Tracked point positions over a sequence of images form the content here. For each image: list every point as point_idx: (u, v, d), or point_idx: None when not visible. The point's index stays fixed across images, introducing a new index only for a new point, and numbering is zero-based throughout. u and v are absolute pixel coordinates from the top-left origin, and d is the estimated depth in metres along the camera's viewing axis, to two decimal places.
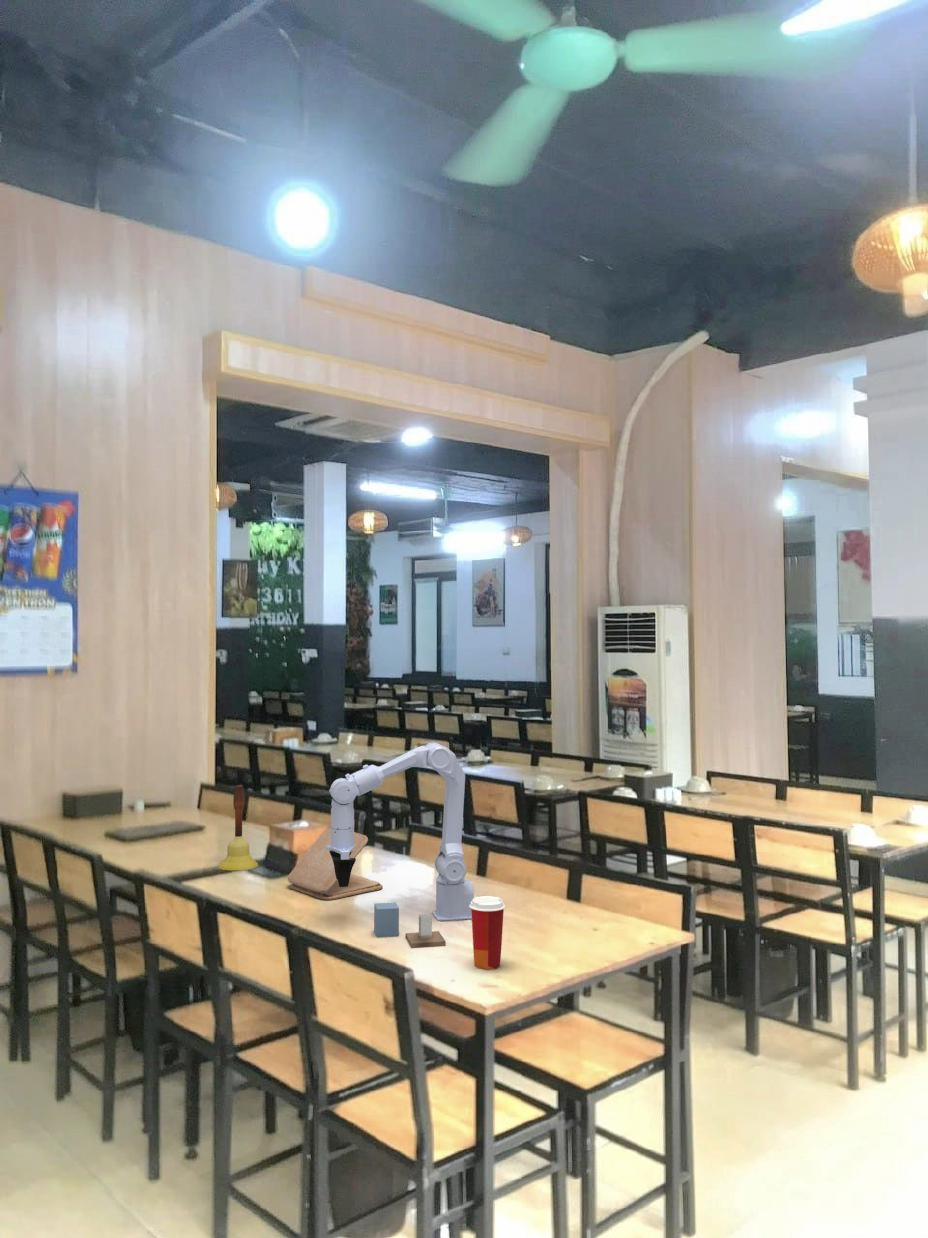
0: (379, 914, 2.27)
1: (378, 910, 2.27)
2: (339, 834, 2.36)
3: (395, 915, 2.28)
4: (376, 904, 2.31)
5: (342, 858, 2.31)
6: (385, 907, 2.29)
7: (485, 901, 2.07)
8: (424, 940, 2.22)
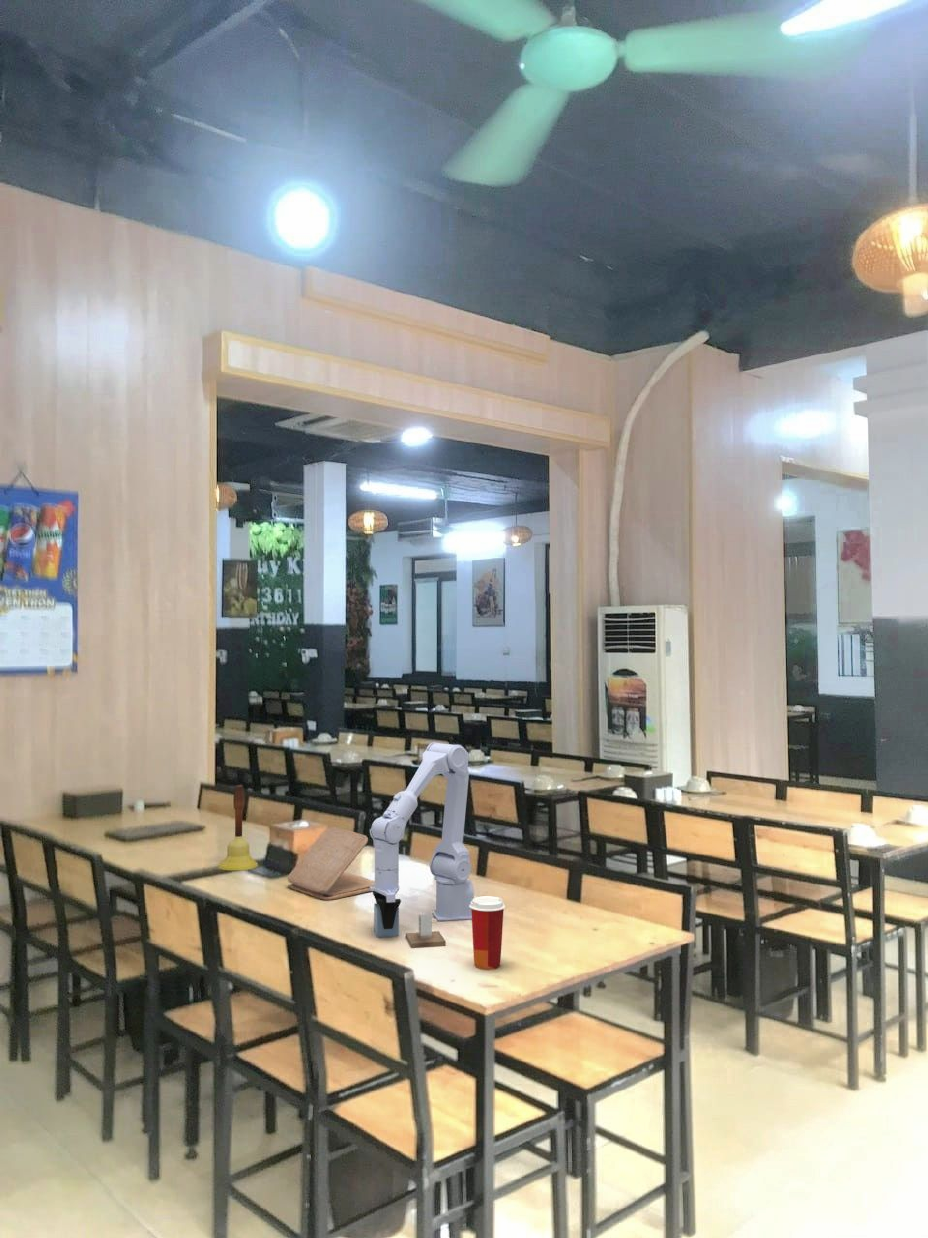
0: (379, 914, 2.27)
1: (378, 910, 2.27)
2: (384, 875, 2.28)
3: None
4: (376, 904, 2.31)
5: (388, 901, 2.23)
6: None
7: (485, 901, 2.07)
8: (424, 940, 2.22)
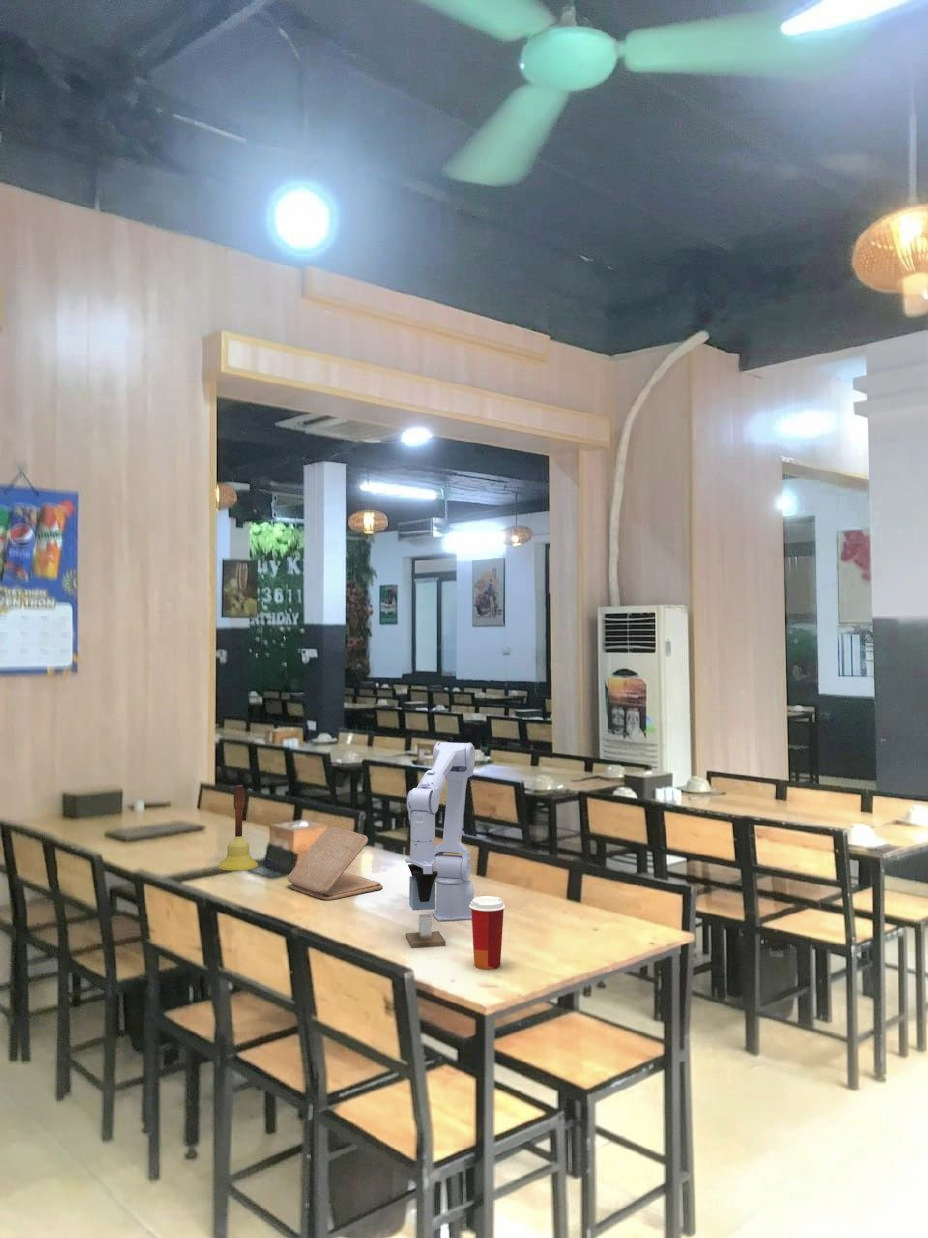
0: (415, 886, 2.22)
1: (414, 882, 2.22)
2: (420, 846, 2.22)
3: None
4: (411, 877, 2.26)
5: (425, 872, 2.18)
6: None
7: (485, 901, 2.07)
8: (424, 940, 2.22)
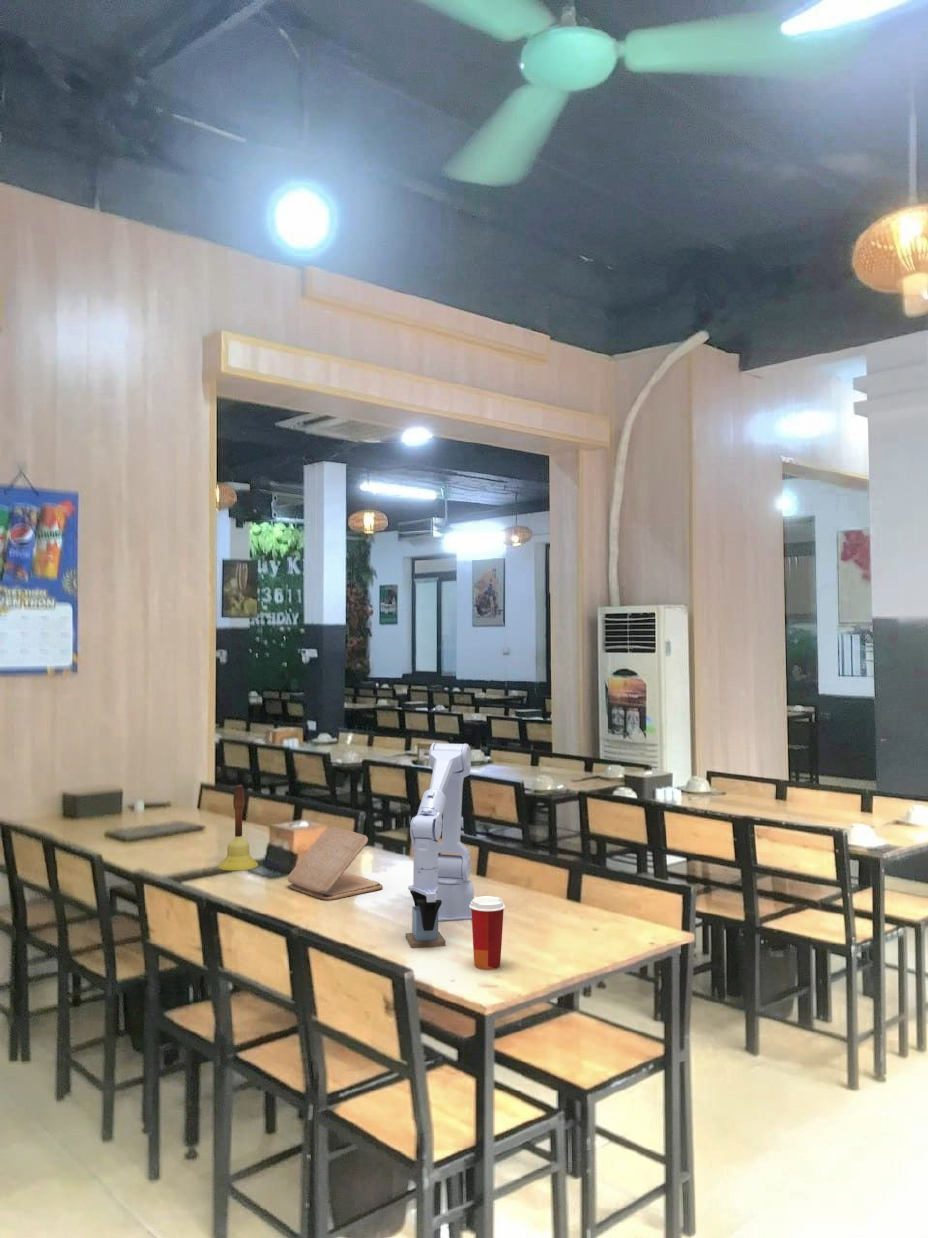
0: (418, 917, 2.21)
1: (417, 913, 2.21)
2: (423, 874, 2.22)
3: None
4: (414, 907, 2.25)
5: (428, 901, 2.17)
6: None
7: (485, 901, 2.07)
8: None
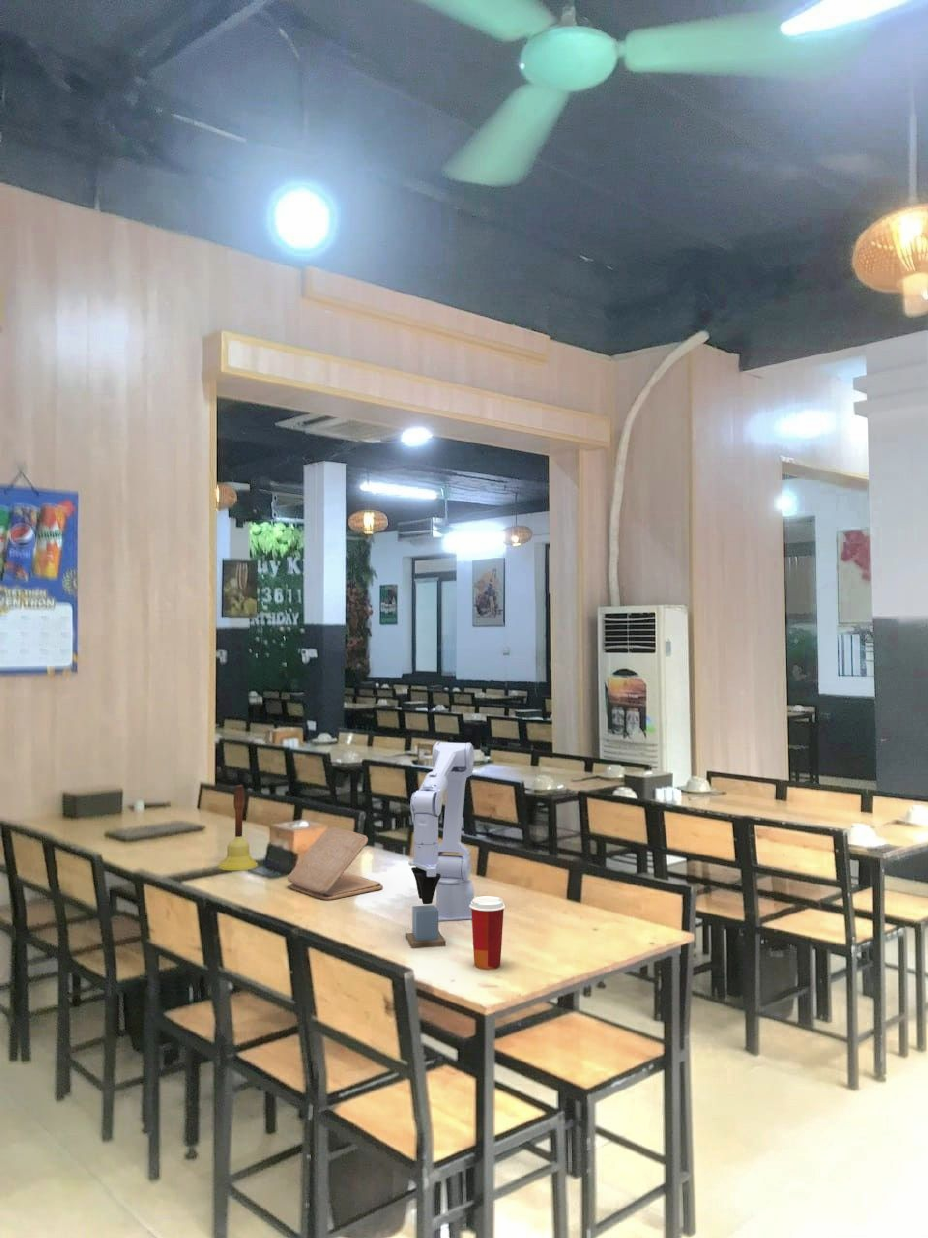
0: (418, 917, 2.21)
1: (417, 913, 2.21)
2: (423, 849, 2.22)
3: (434, 918, 2.22)
4: (414, 907, 2.25)
5: (428, 875, 2.17)
6: (424, 910, 2.23)
7: (485, 901, 2.07)
8: None
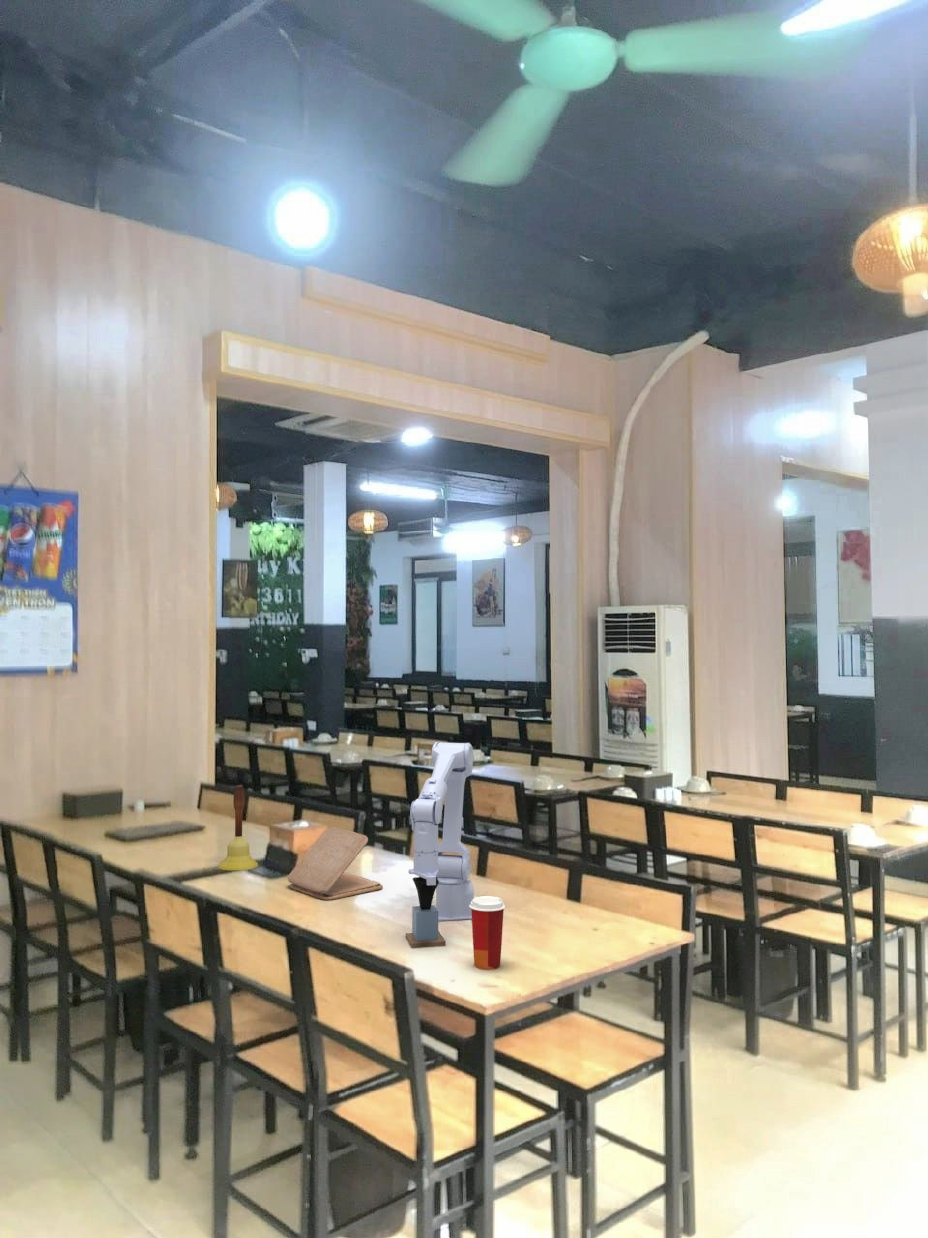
0: (418, 917, 2.21)
1: (417, 913, 2.21)
2: (423, 857, 2.22)
3: (434, 918, 2.22)
4: (414, 907, 2.25)
5: (428, 884, 2.17)
6: (424, 910, 2.23)
7: (485, 901, 2.07)
8: None
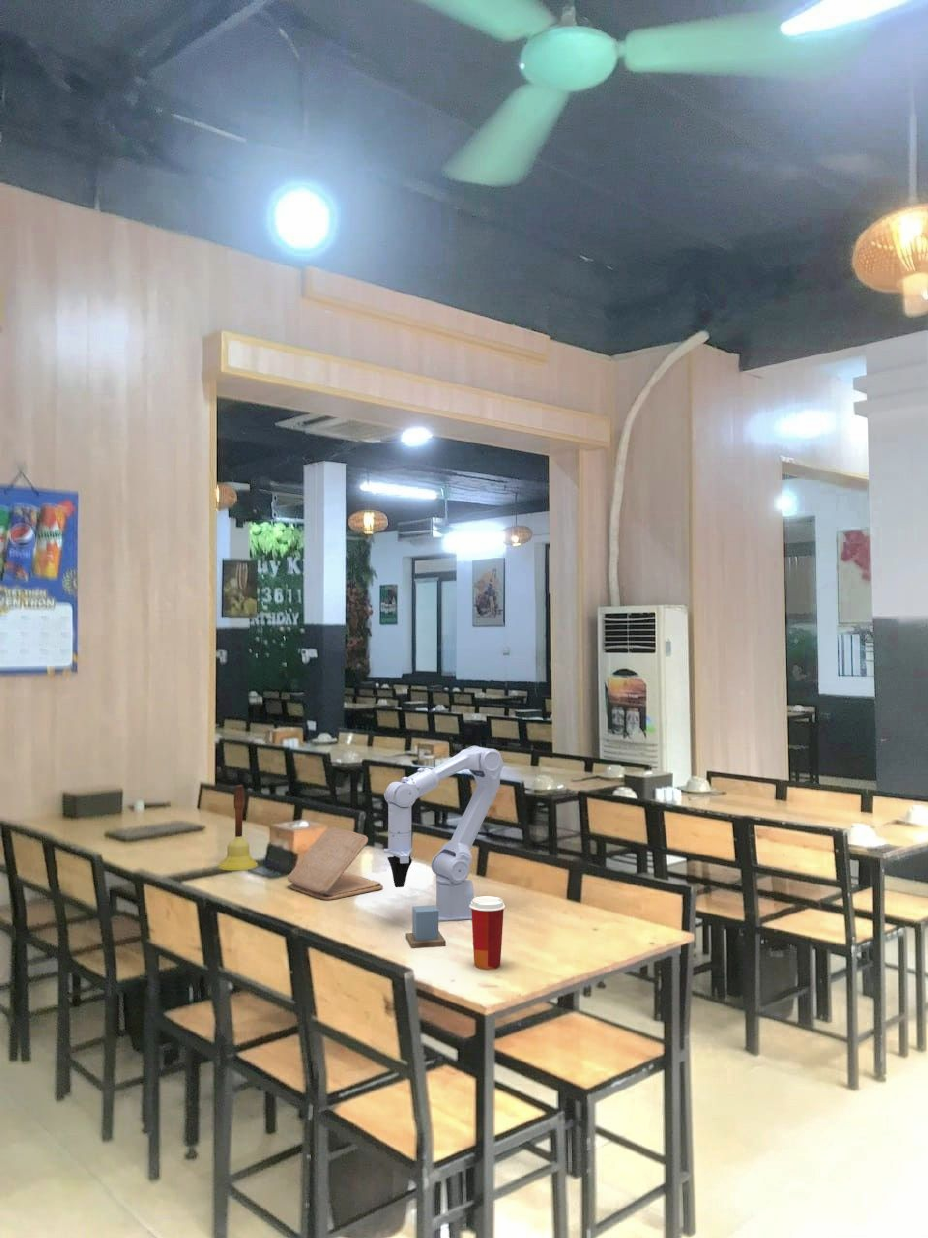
0: (418, 917, 2.21)
1: (417, 913, 2.21)
2: (397, 837, 2.35)
3: (434, 918, 2.22)
4: (414, 907, 2.25)
5: (402, 862, 2.31)
6: (424, 910, 2.23)
7: (485, 901, 2.07)
8: None
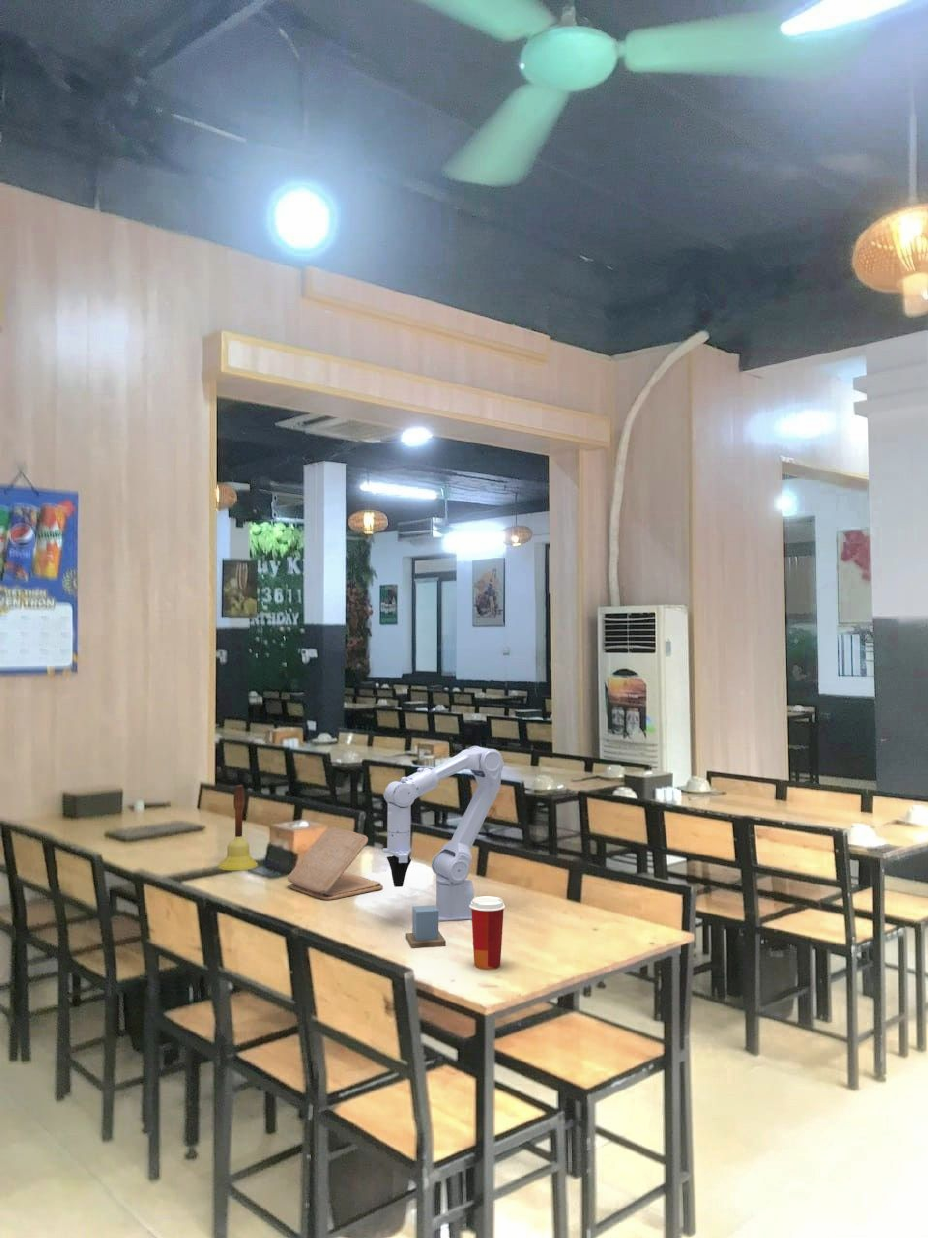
0: (418, 917, 2.21)
1: (417, 913, 2.21)
2: (396, 837, 2.36)
3: (434, 918, 2.22)
4: (414, 907, 2.25)
5: (400, 861, 2.31)
6: (424, 910, 2.23)
7: (485, 901, 2.07)
8: None
